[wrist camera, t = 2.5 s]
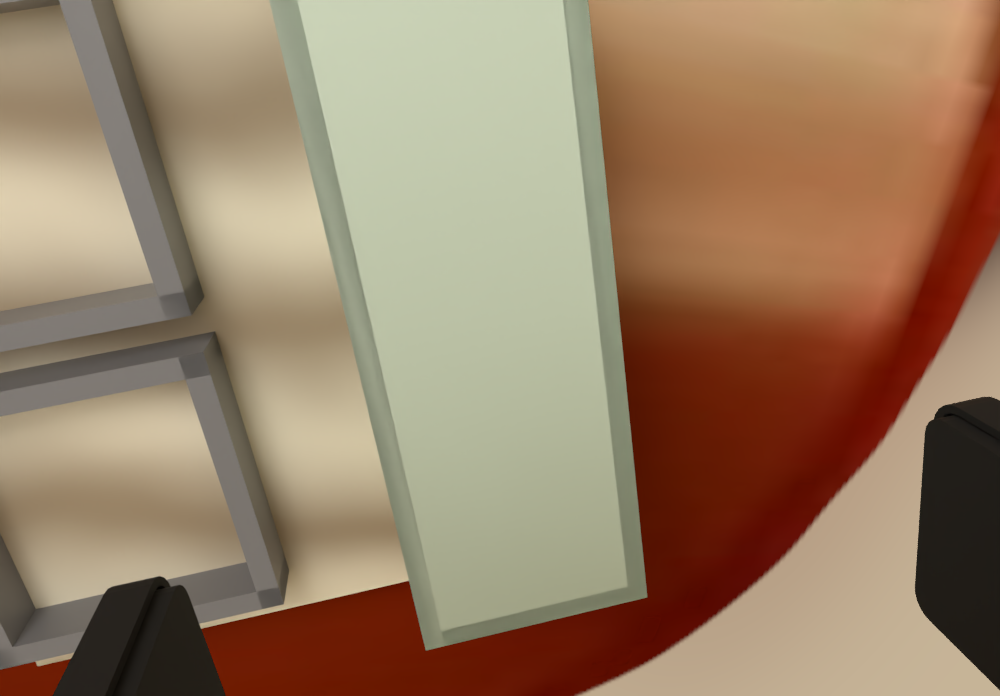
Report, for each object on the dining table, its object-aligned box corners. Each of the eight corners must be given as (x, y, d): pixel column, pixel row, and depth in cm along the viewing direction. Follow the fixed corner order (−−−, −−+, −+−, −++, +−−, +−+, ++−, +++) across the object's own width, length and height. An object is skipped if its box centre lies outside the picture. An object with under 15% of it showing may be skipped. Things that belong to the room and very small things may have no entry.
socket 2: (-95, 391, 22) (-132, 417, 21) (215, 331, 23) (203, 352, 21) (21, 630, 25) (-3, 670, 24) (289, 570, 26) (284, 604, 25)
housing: (295, 1, 20) (262, -29, 14) (514, -33, 21) (580, -76, 14) (411, 505, 26) (425, 650, 20) (579, 468, 27) (647, 596, 20)
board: (-271, -43, 19) (-318, -50, 18) (508, -151, 21) (517, -165, 20) (51, 641, 27) (35, 670, 26) (592, 518, 29) (603, 539, 28)
